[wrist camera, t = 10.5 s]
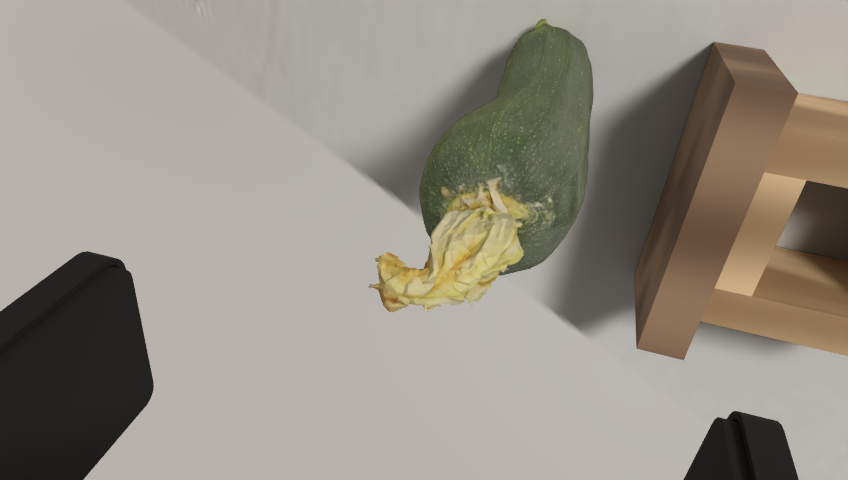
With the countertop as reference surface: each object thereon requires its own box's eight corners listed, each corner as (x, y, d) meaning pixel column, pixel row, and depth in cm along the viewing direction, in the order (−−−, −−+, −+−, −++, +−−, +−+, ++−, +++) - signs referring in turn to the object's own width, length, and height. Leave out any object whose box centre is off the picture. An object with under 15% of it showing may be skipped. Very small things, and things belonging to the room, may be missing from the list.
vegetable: (620, 63, 27) (619, 360, 11) (548, 128, 30) (455, 454, 13) (551, -10, 27) (434, 189, 10) (482, 62, 29) (296, 319, 12)
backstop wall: (673, 284, 32) (683, 359, 27) (634, 275, 32) (636, 348, 27) (764, 49, 26) (798, 93, 21) (713, 42, 26) (735, 82, 21)
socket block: (878, 302, 30) (919, 372, 26) (683, 259, 31) (692, 319, 27) (987, 125, 25) (1059, 176, 21) (750, 85, 26) (774, 125, 22)
